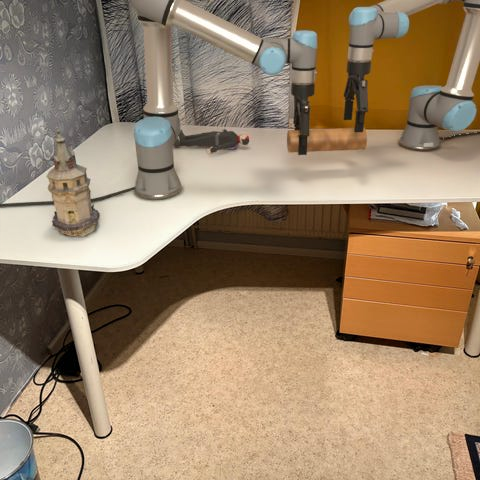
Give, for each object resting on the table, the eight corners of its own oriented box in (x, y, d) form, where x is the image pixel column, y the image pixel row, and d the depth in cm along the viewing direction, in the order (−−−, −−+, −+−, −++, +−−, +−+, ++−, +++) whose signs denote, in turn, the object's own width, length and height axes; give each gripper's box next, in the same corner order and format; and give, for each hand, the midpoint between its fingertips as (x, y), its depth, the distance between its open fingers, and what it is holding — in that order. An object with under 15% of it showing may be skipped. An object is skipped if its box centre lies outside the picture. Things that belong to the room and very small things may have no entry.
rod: (290, 155, 180) (290, 134, 176) (286, 148, 186) (287, 127, 182) (365, 152, 182) (368, 131, 178) (359, 145, 188) (361, 124, 184)
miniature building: (80, 214, 164) (63, 117, 149) (111, 225, 157) (96, 125, 142) (44, 231, 154) (22, 130, 140) (75, 244, 147) (55, 139, 133)
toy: (185, 122, 227) (254, 122, 220) (186, 136, 230) (255, 137, 224) (165, 142, 205) (242, 143, 198) (167, 157, 208) (243, 159, 201)
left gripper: (321, 89, 163) (317, 160, 174) (308, 75, 181) (305, 140, 192) (297, 90, 163) (294, 161, 174) (286, 75, 180) (284, 141, 192)
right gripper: (383, 68, 159) (375, 137, 170) (359, 52, 181) (353, 114, 191) (359, 68, 159) (352, 137, 169) (338, 53, 180) (333, 115, 191)
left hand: (300, 150), depth 183 cm, fingers closed on rod, 7 cm apart
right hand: (352, 125), depth 180 cm, fingers open, 13 cm apart
